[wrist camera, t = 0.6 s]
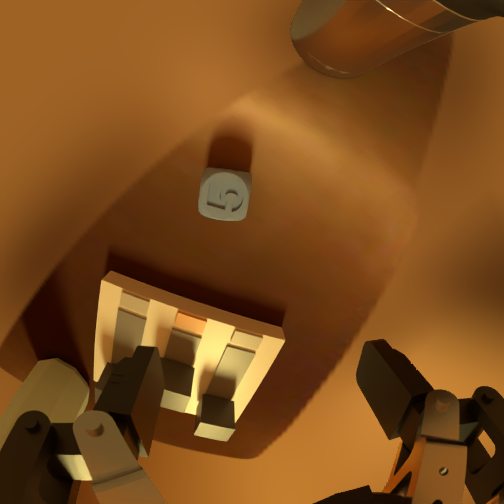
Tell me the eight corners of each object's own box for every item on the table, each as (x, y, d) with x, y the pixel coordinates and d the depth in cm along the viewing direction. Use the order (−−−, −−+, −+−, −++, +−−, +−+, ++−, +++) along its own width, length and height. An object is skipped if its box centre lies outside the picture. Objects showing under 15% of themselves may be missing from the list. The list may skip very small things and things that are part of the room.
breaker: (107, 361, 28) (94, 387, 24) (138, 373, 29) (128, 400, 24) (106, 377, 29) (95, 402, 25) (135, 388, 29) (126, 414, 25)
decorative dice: (207, 166, 25) (202, 168, 21) (250, 172, 25) (253, 174, 22) (201, 208, 26) (196, 217, 22) (243, 213, 27) (245, 223, 23)
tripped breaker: (160, 356, 28) (151, 385, 24) (194, 367, 29) (190, 397, 24) (155, 374, 29) (147, 402, 24) (188, 384, 29) (184, 412, 25)
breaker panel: (110, 270, 27) (100, 281, 25) (281, 327, 31) (285, 342, 28) (99, 368, 32) (92, 382, 29) (234, 410, 36) (234, 425, 33)
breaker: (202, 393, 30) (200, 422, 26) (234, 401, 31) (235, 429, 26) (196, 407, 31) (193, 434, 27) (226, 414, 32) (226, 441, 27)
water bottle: (33, 346, 31) (-44, 462, 7) (83, 360, 32) (13, 505, 8) (52, 391, 34) (-1, 499, 10) (100, 404, 35) (56, 532, 11)
